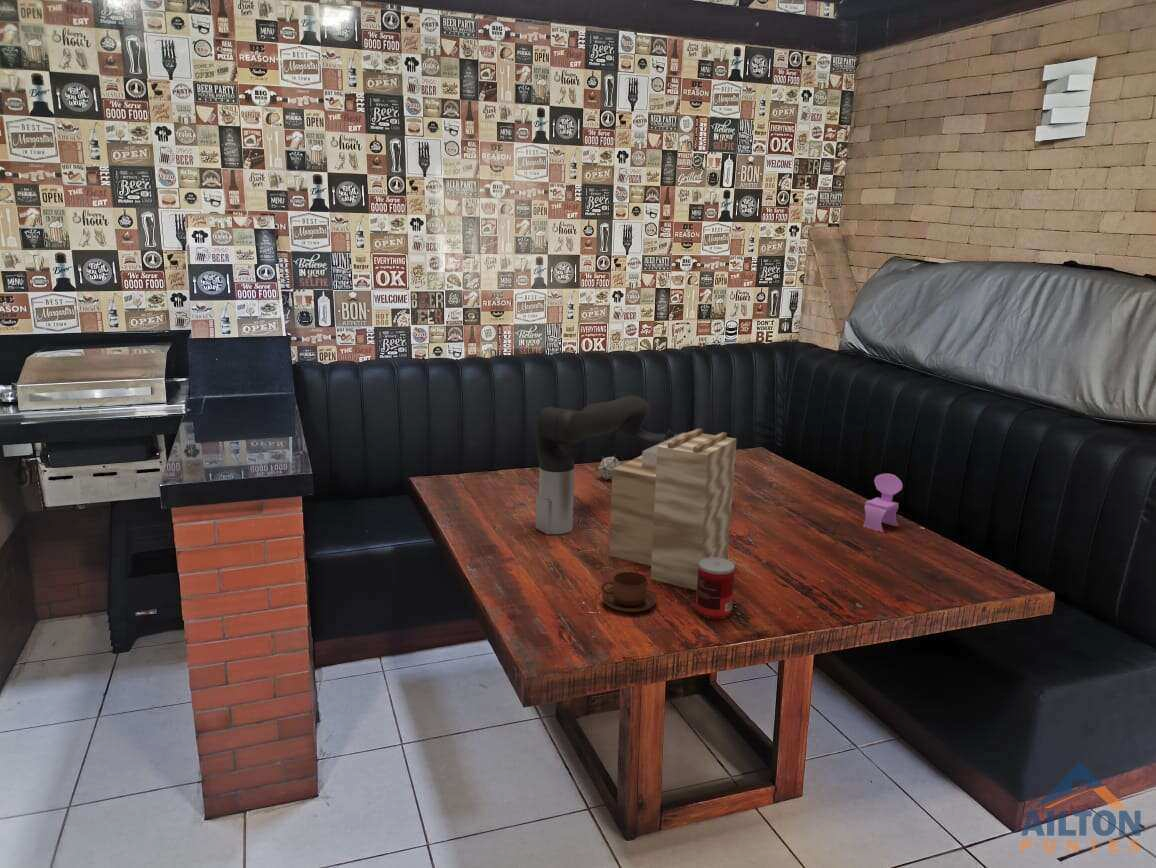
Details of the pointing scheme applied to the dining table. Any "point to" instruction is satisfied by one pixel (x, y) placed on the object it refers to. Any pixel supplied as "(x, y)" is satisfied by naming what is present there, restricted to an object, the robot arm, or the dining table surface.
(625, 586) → the cup and saucer
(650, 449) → the bar
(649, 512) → the stand
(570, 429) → the robot arm
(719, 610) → the canned food
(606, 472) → the game die
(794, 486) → the dining table surface
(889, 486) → the toy chair
